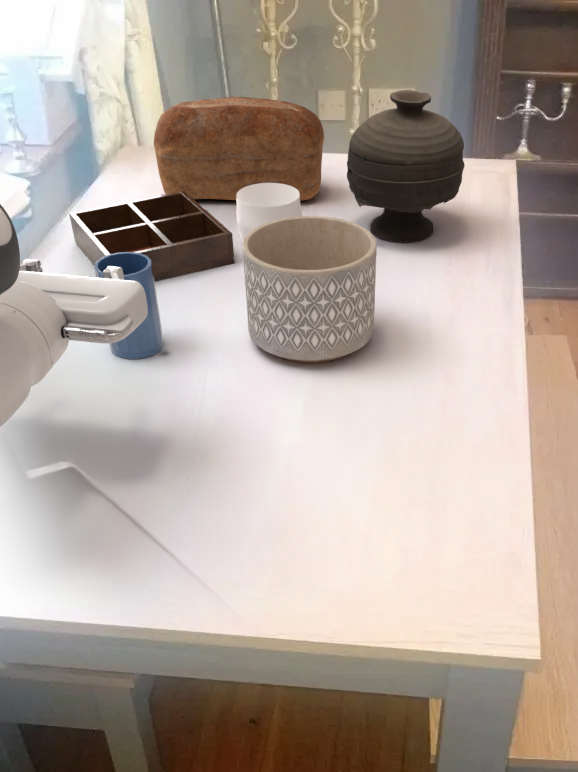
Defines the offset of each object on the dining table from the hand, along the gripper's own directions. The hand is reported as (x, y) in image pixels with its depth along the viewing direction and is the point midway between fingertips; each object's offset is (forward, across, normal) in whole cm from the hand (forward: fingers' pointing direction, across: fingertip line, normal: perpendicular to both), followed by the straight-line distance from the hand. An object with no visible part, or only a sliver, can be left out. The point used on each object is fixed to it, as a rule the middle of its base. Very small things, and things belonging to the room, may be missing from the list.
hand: (75, 269), depth 97 cm
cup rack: (+40, +8, +16) cm, 44 cm away
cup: (+35, -12, +16) cm, 40 cm away
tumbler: (+12, 0, +16) cm, 20 cm away
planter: (+19, -22, +16) cm, 33 cm away
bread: (+66, 0, +16) cm, 67 cm away
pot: (+56, -28, +16) cm, 65 cm away
